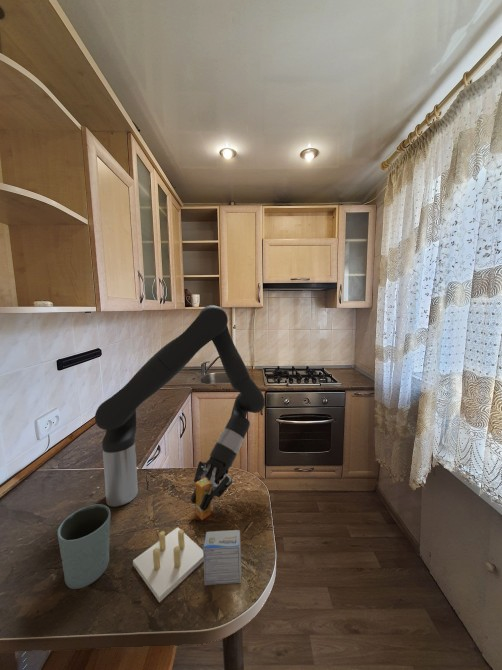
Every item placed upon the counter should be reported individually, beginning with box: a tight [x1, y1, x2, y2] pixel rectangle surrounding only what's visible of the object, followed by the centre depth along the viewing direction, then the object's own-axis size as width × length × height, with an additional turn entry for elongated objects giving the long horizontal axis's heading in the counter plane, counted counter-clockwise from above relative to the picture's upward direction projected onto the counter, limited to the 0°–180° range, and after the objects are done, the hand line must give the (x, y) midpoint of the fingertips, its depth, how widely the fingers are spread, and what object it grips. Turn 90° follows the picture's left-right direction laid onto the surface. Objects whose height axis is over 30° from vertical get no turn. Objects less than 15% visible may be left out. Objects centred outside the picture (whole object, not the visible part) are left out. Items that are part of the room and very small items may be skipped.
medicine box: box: [202, 529, 242, 586], centre depth 55 cm, size 8×4×9 cm, turn 92°
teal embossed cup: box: [57, 503, 112, 590], centre depth 57 cm, size 10×10×12 cm
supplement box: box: [194, 478, 212, 521], centre depth 72 cm, size 3×4×10 cm
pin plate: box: [132, 526, 204, 603], centre depth 58 cm, size 12×12×5 cm
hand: (197, 505), depth 71 cm, fingers closed on supplement box, 3 cm apart
